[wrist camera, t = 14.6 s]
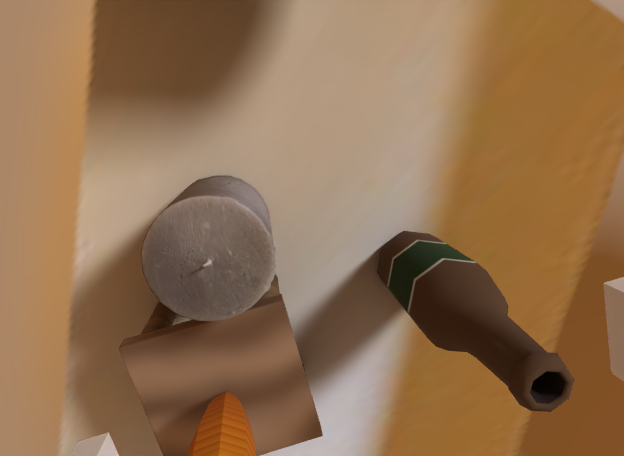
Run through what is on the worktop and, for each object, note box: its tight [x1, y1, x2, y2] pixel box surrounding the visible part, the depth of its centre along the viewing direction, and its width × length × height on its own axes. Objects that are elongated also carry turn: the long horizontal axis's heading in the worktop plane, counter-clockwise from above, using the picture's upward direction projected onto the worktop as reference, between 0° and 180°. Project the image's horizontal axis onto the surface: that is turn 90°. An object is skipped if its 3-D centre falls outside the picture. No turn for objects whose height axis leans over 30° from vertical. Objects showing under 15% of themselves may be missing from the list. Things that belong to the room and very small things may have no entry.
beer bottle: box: [377, 231, 574, 412], centre depth 36 cm, size 8×8×24 cm
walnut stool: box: [119, 274, 323, 456], centre depth 43 cm, size 14×14×10 cm
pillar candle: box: [141, 176, 276, 321], centre depth 37 cm, size 10×10×15 cm
